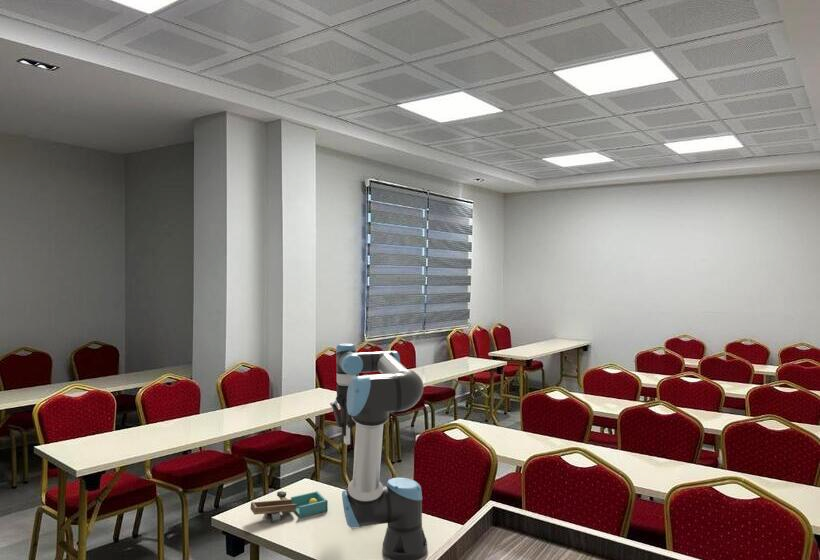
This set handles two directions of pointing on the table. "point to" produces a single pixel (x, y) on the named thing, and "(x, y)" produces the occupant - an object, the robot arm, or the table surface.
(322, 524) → the table surface
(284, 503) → the lever
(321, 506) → the tray
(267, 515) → the stand
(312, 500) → the ball
